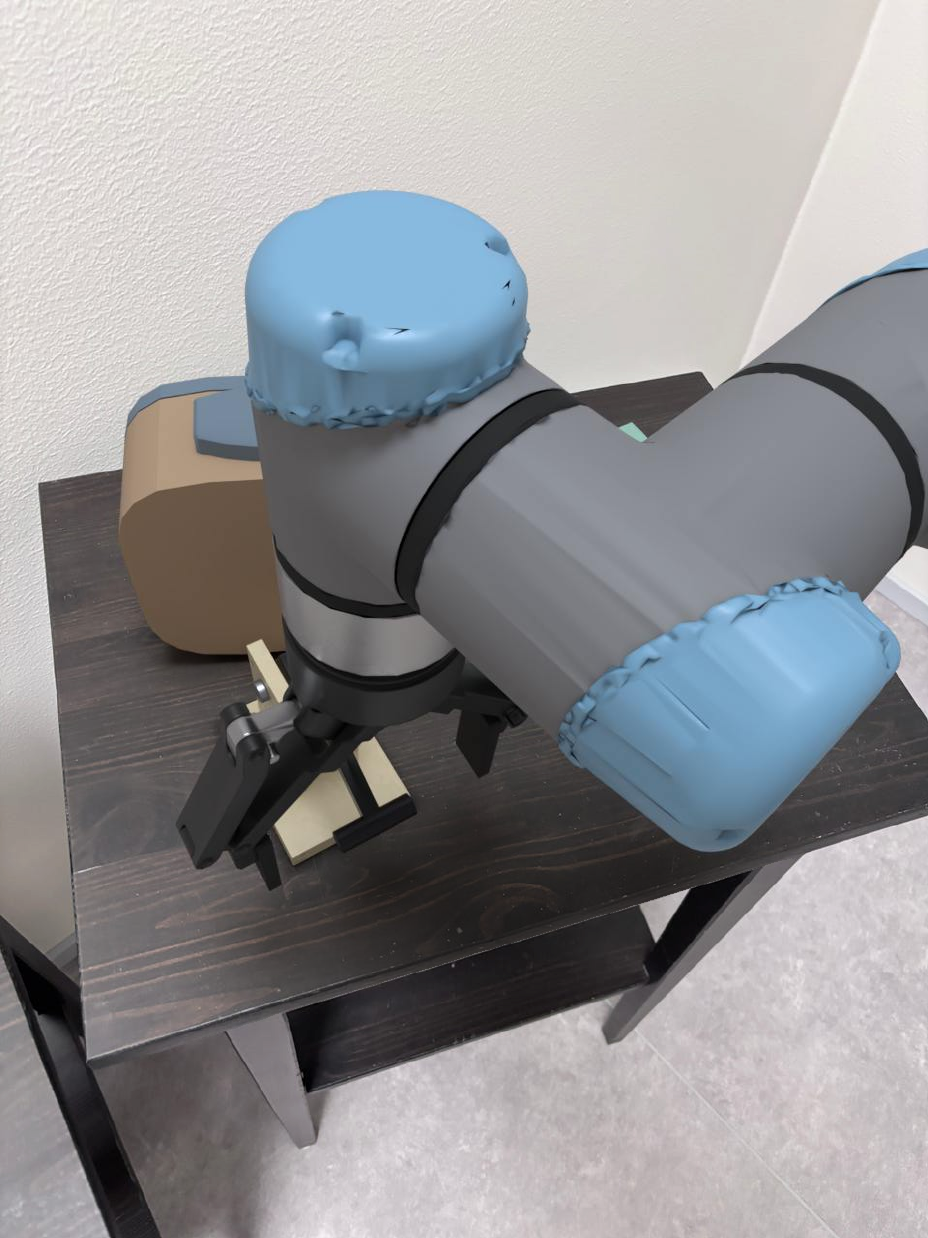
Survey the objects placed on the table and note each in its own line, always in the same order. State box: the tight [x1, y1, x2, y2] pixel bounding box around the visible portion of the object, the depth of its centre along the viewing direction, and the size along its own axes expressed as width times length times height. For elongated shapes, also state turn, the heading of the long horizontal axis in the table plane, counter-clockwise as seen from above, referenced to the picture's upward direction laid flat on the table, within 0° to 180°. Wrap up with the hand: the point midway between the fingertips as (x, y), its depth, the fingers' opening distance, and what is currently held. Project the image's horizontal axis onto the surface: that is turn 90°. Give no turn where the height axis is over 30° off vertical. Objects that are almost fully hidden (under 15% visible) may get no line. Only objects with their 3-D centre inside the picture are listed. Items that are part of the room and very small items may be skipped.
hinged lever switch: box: [246, 639, 411, 867], centre depth 60 cm, size 12×9×15 cm
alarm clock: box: [117, 375, 286, 655], centre depth 64 cm, size 21×10×22 cm, turn 99°
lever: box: [274, 651, 418, 854], centre depth 55 cm, size 12×5×2 cm, turn 32°
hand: (373, 810), depth 53 cm, fingers open, 13 cm apart
